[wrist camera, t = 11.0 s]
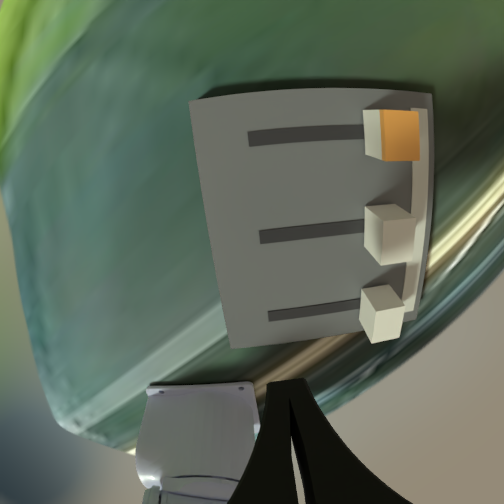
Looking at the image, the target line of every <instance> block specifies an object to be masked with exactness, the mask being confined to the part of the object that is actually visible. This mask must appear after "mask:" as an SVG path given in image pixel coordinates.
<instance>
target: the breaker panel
mask: <svg viewBox="0 0 504 504" xmlns="http://www.w3.org/2000/svg"><path fill="white" fill-rule="evenodd" d="M189 108H190V116H191V123H192V130H193V137H194V144H195V151H196V158H197V165H198V171H199V178H200V184H201V190H202V196H203V203H204V209H205V215H206V220H207V226H208V232H209V238H210V243H211V249H212V255H213V260H214V266H215V271H216V276H217V282H218V287H219V292H220V297H221V302H222V307H223V312H224V317H225V322H226V327H227V332H228V337H229V342H230V347H231V349H235V348H245V347H255V346H264V345H273V344H281V343H288V342H296V341H303V340H310V339H317V338H323V337H329V336H335V335H341V334H347V333H353V332H358V331H363V330H365V332H366V334H367V336H368V338H369V340H370V342H371V344H372V343H377V342H382V341H386V340H391V339H395V338H399V336H400V332H401V327H402V322H407V321H411V320H416V318H417V313H418V308H419V303H420V298H421V293H422V287H423V281H424V275H425V269H426V262H427V255H428V247H429V238H430V229H431V218H432V205H433V187H434V121H433V104H432V94H430V93H421V92H411V91H400V90H386V89H366V88H307V89H286V90H272V91H260V92H250V93H241V94H233V95H225V96H218V97H211V98H204V99H198V100H192V101H189ZM363 110H403V111H418V114H419V136H420V161H383V160H380V159H377V158H374V157H371V156H369V155H365V135H364V120H363Z"/></svg>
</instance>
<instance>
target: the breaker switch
mask: <svg viewBox="0 0 504 504" xmlns="http://www.w3.org/2000/svg"><path fill="white" fill-rule="evenodd" d="M363 120H364V135H365V155H369V156H371V157H374V158H377V159H380V160H383V161H420V136H419V114H418V111H403V110H363Z"/></svg>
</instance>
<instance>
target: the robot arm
mask: <svg viewBox="0 0 504 504" xmlns="http://www.w3.org/2000/svg"><path fill="white" fill-rule="evenodd" d="M161 390H162V391H161ZM146 392H147V394H148V400H147V404H146V408H145V412H144V416H143V420H142V424H141V428H140V432H139V436H138V440H137V445H136V455H135V458H136V468H137V473H138V476H139V478H140V480H141V482H142V484H143V485H144V486H145V487H146V488H148V489H147V490H145V493H144V497H143V502H142V504H298V497H297V491H296V484H295V477H294V470H293V463H292V456H291V437H292V441H293V446H294V450H295V454H296V458H297V462H298V466H299V470H300V474H301V479H302V483H303V488H304V495H305V502H306V504H413V503H411V502H409V501H408V500H406V499H405V498H403V497H402V496H400V495H399V494H398V493H396V492H395V491H393V490H392V489H391V488H390V487H388V486H387V485H386V484H385V483H384V482H382V481H381V480H380V479H379V478H378V477H377V476H376V475H374V474H373V473H372V472H371V471H370V470H369V469H368V468H366V466H365V465H364V464H363V463H362V462H361V461H360V460H359V459H358V458H357V457H356V456H355V455H354V454H353V453H352V452H351V450H350V449H349V448H348V447H347V446H346V445H345V443H344V442H343V441H342V439H341V438H340V437H339V436H338V434H337V433H336V432H335V430H334V429H333V427H332V426H331V425H330V423H329V422H328V420H327V419H326V417H325V416H324V414H323V413H322V411H321V409H320V408H319V406H318V404H317V402H316V401H315V399H314V397H313V395H312V393H311V391H310V389H309V387H308V384H307V382H306V380H305V379H304V378H299V379H292V380H284V381H276V382H269V383H268V384H267V392H266V402H265V408H264V413H263V418H262V422H261V425H260V420H259V414H258V409H257V403H256V397H255V392H254V386H253V383H251V382H247V381H246V382H235V383H221V384H204V385H177V386H148V387H147V388H146ZM254 433H258V436H257V439H256V442H255V437H254Z"/></svg>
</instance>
